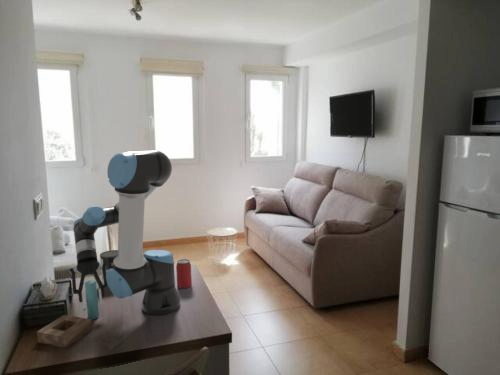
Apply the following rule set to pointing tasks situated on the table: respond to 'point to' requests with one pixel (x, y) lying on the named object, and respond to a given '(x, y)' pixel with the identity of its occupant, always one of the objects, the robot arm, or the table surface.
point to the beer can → (183, 273)
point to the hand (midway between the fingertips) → (93, 307)
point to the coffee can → (108, 260)
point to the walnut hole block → (64, 331)
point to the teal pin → (92, 299)
